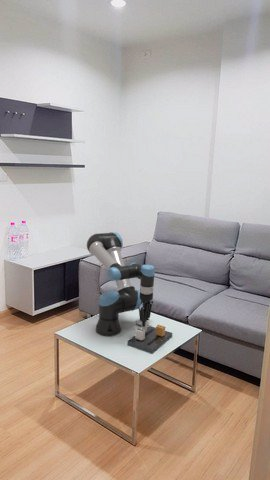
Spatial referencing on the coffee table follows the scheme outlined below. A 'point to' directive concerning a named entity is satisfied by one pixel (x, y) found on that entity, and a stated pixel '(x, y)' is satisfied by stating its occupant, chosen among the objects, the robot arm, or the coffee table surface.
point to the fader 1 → (140, 334)
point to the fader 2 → (160, 330)
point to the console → (150, 340)
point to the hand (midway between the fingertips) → (144, 330)
